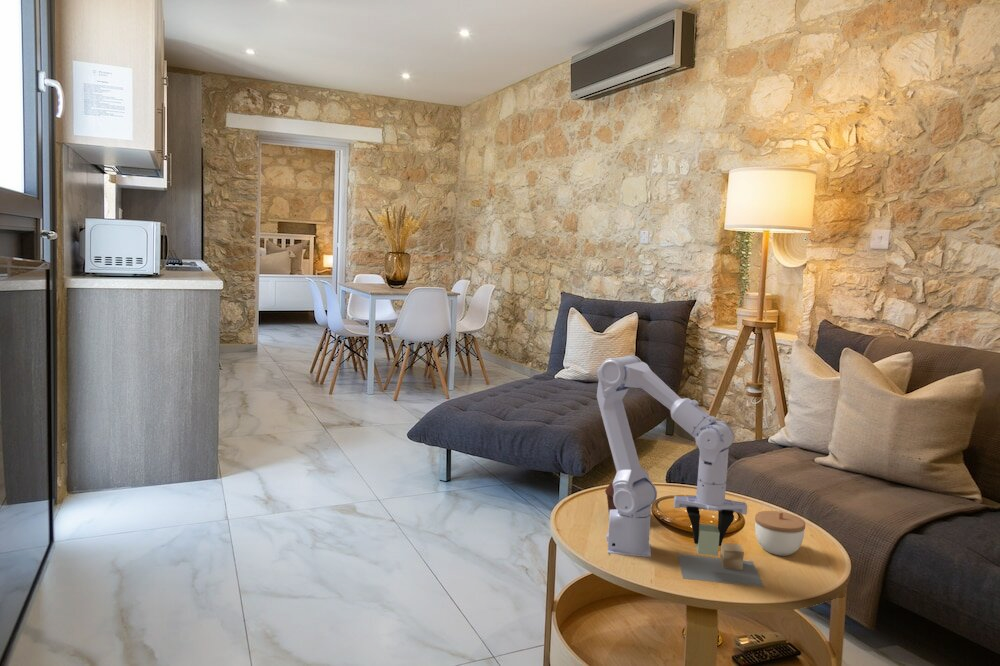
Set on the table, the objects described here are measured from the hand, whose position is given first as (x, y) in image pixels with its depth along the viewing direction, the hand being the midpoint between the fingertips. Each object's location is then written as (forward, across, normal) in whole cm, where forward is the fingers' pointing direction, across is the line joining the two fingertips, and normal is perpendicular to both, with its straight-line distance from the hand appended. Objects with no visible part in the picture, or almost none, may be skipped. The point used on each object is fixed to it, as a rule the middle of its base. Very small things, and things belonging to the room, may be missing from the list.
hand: (707, 543), depth 146 cm
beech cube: (+6, +6, +5) cm, 10 cm away
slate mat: (+7, +3, +2) cm, 8 cm away
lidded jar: (+7, +18, +16) cm, 25 cm away
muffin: (+7, -16, +29) cm, 34 cm away
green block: (+2, 0, 0) cm, 2 cm away
